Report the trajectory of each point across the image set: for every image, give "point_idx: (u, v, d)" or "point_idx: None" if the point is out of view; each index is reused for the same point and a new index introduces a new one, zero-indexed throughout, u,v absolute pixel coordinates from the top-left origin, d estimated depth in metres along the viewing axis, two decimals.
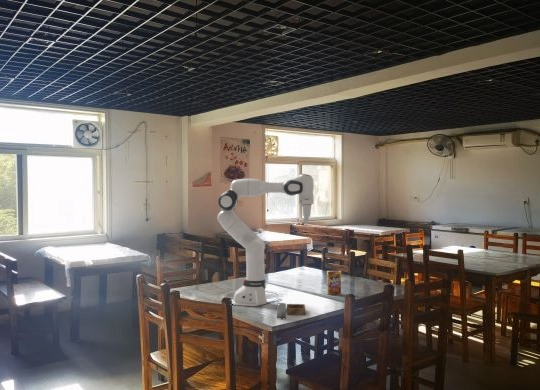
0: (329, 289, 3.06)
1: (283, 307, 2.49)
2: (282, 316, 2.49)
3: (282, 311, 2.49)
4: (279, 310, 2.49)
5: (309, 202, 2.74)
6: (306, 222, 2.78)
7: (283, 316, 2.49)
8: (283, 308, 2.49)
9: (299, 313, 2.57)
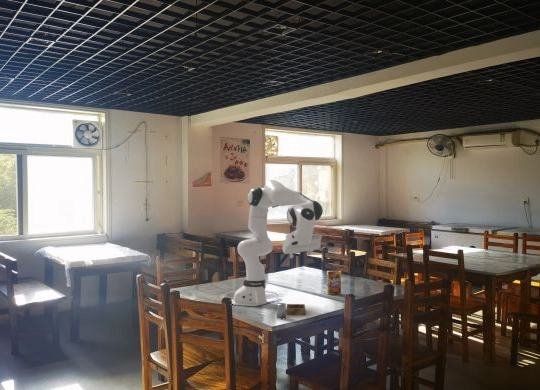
0: (329, 289, 3.06)
1: (283, 307, 2.49)
2: (282, 316, 2.49)
3: (282, 311, 2.49)
4: (279, 310, 2.49)
5: (288, 242, 2.35)
6: (290, 255, 2.45)
7: (283, 316, 2.49)
8: (283, 308, 2.49)
9: (299, 313, 2.57)
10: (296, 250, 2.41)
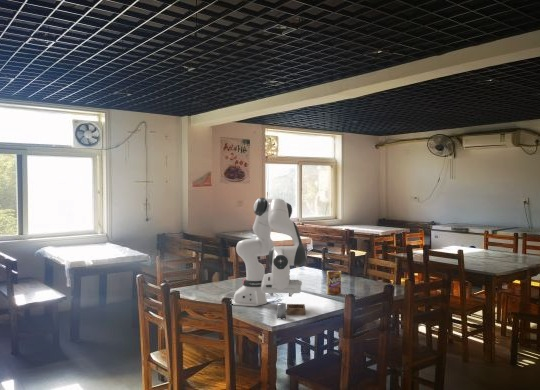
0: (329, 289, 3.06)
1: (283, 307, 2.49)
2: (282, 316, 2.49)
3: (282, 311, 2.49)
4: (279, 310, 2.49)
5: (263, 283, 2.32)
6: (270, 293, 2.41)
7: (283, 316, 2.49)
8: (283, 308, 2.49)
9: (299, 313, 2.57)
10: (274, 291, 2.36)
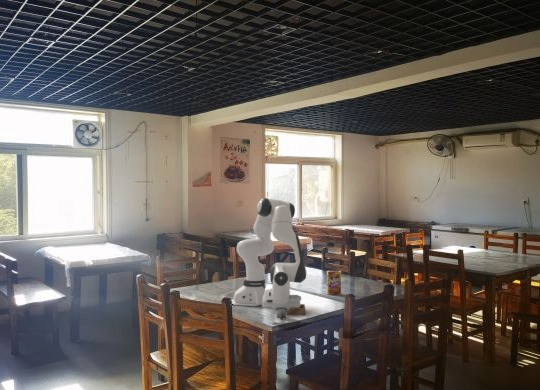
0: (329, 289, 3.06)
1: (283, 307, 2.49)
2: (282, 316, 2.49)
3: (282, 311, 2.49)
4: (279, 310, 2.49)
5: (264, 298, 2.42)
6: None
7: (283, 316, 2.49)
8: (283, 308, 2.49)
9: (299, 313, 2.57)
10: (274, 305, 2.46)
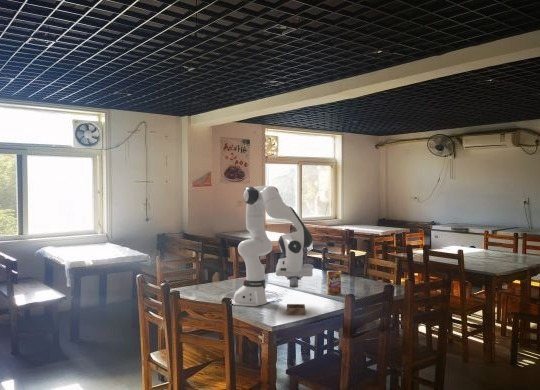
0: (329, 289, 3.06)
1: (296, 276, 2.59)
2: (295, 285, 2.59)
3: (295, 280, 2.59)
4: (292, 279, 2.59)
5: (278, 266, 2.51)
6: None
7: (296, 285, 2.59)
8: (296, 277, 2.59)
9: (299, 313, 2.57)
10: (287, 274, 2.56)
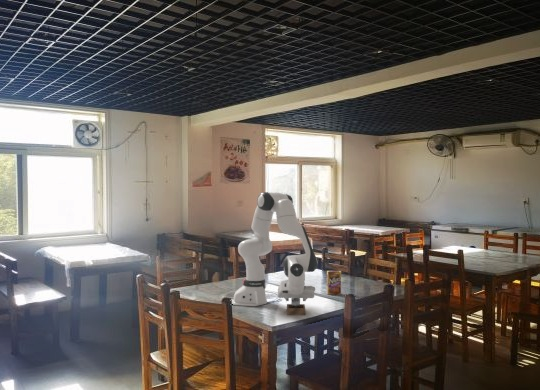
0: (329, 289, 3.06)
1: (297, 300, 2.60)
2: None
3: (296, 304, 2.60)
4: (294, 303, 2.60)
5: (280, 289, 2.53)
6: (286, 298, 2.62)
7: None
8: (297, 301, 2.60)
9: (299, 313, 2.57)
10: (289, 296, 2.57)
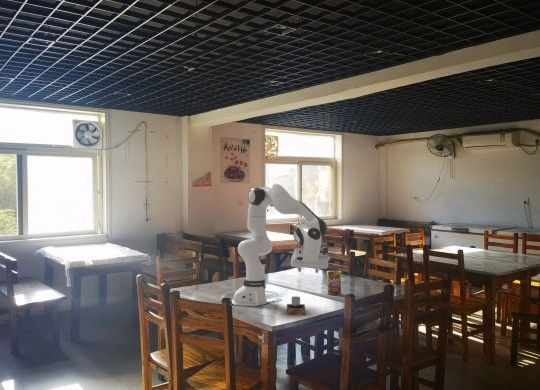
0: (329, 289, 3.06)
1: (297, 300, 2.60)
2: None
3: (296, 304, 2.60)
4: (294, 303, 2.60)
5: (294, 256, 2.47)
6: (298, 269, 2.56)
7: None
8: (297, 301, 2.60)
9: (299, 313, 2.57)
10: (303, 265, 2.51)
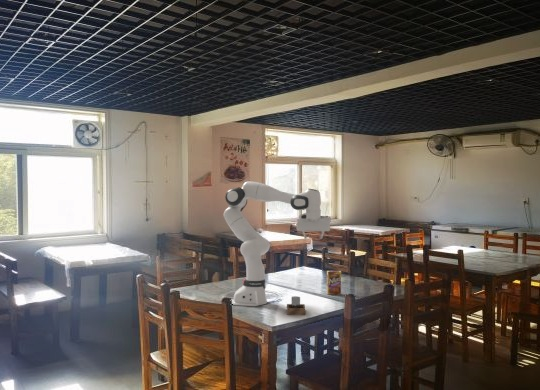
0: (329, 289, 3.06)
1: (297, 300, 2.60)
2: None
3: (296, 304, 2.60)
4: (293, 303, 2.60)
5: (299, 216, 2.82)
6: (304, 236, 2.84)
7: None
8: (297, 301, 2.60)
9: (299, 313, 2.57)
10: (307, 228, 2.82)
